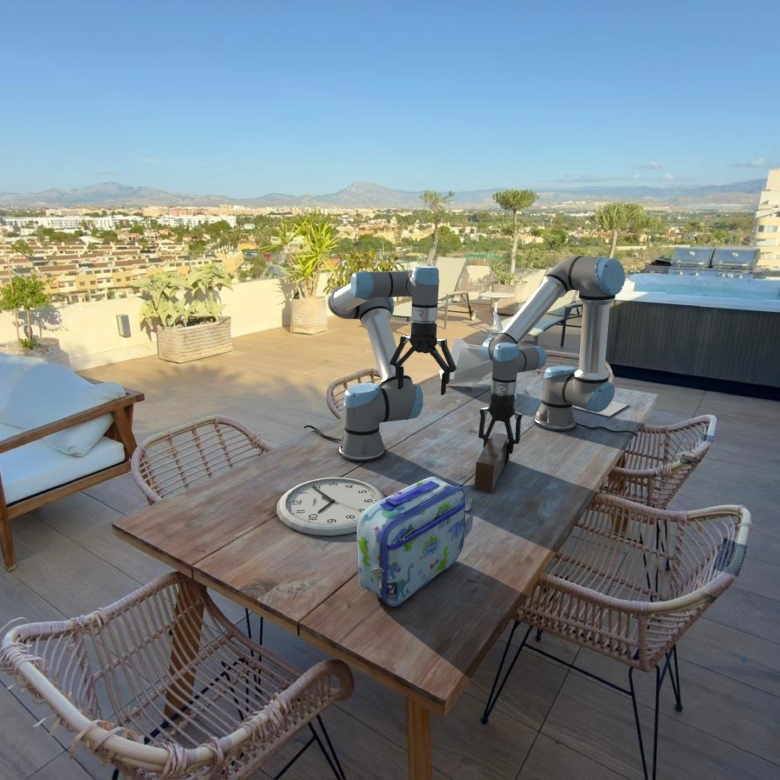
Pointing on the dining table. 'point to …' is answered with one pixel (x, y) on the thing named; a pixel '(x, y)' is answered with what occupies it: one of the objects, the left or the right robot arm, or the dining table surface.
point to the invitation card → (608, 408)
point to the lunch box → (410, 539)
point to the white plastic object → (474, 363)
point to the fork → (467, 507)
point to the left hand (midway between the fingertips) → (421, 391)
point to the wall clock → (327, 505)
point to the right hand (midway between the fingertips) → (497, 460)
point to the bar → (491, 462)
